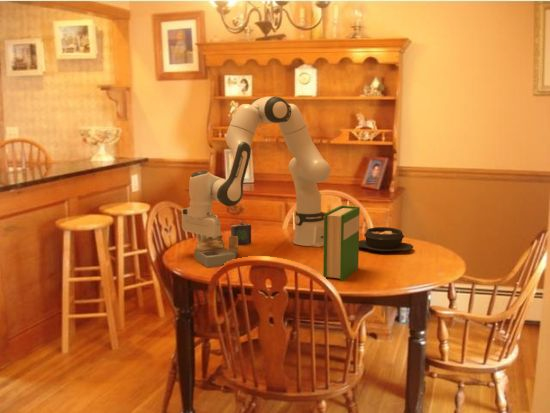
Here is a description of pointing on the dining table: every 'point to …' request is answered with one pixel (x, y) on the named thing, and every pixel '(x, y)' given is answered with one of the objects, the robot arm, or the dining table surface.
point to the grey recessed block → (214, 256)
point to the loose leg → (233, 244)
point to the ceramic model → (214, 238)
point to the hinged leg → (209, 245)
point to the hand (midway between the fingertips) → (201, 244)
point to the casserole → (384, 240)
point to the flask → (242, 233)
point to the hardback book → (341, 242)
